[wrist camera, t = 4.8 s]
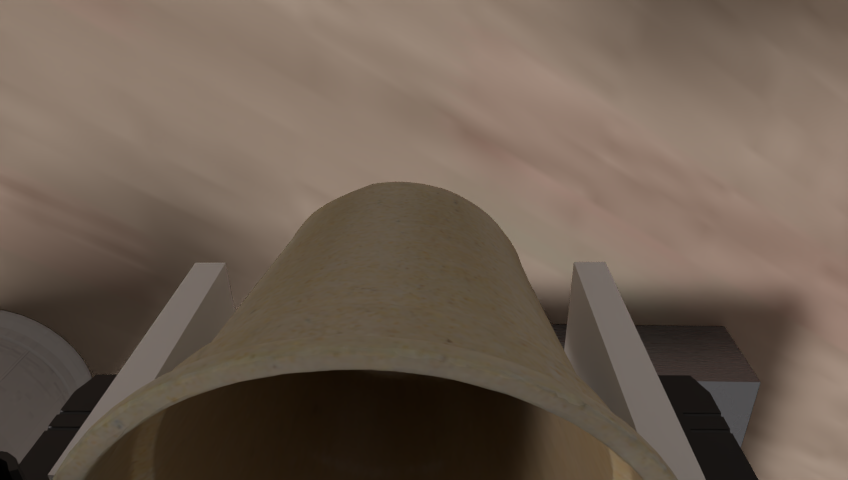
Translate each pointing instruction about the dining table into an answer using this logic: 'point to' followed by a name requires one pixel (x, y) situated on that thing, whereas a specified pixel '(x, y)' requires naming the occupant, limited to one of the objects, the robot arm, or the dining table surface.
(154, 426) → the flower pot
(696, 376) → the gray square platform
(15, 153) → the dining table surface
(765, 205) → the dining table surface
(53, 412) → the grey pitcher
